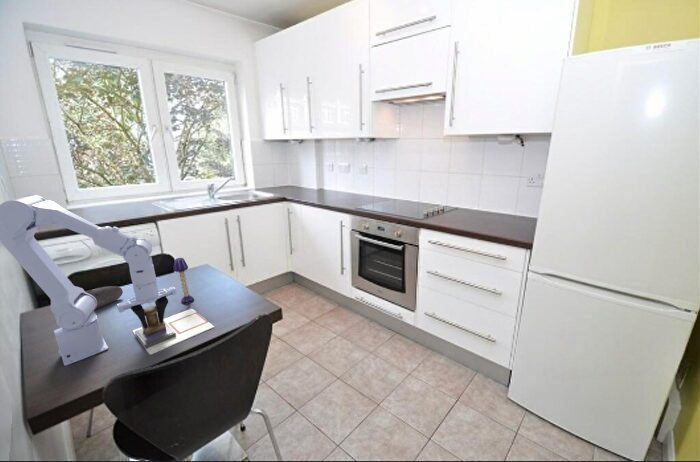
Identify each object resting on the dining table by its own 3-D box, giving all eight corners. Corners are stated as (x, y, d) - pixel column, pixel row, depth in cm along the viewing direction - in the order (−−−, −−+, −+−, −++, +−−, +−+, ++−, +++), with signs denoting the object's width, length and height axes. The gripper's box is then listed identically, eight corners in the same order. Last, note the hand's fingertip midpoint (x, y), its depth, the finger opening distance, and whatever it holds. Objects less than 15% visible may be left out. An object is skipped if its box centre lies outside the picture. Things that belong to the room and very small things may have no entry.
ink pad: (145, 348, 89) (144, 344, 88) (135, 335, 95) (134, 330, 95) (176, 336, 94) (175, 332, 94) (164, 324, 101) (163, 320, 101)
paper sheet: (150, 355, 87) (149, 353, 86) (132, 331, 98) (132, 330, 98) (214, 327, 99) (214, 326, 99) (192, 309, 110) (192, 308, 110)
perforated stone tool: (121, 296, 121) (117, 279, 119) (127, 299, 118) (123, 282, 116) (72, 313, 109) (66, 294, 107) (77, 317, 106) (72, 298, 104)
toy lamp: (187, 305, 113) (180, 261, 109) (176, 303, 114) (168, 260, 110) (196, 298, 118) (189, 256, 113) (185, 297, 119) (178, 256, 114)
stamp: (147, 336, 92) (142, 317, 90) (142, 328, 95) (137, 309, 93) (166, 328, 95) (162, 310, 93) (160, 320, 99) (156, 302, 96)
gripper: (117, 295, 82) (128, 340, 86) (177, 277, 93) (184, 318, 96) (111, 287, 87) (121, 330, 91) (168, 271, 97) (175, 311, 101)
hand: (153, 324), depth 94 cm, fingers closed on stamp, 4 cm apart
